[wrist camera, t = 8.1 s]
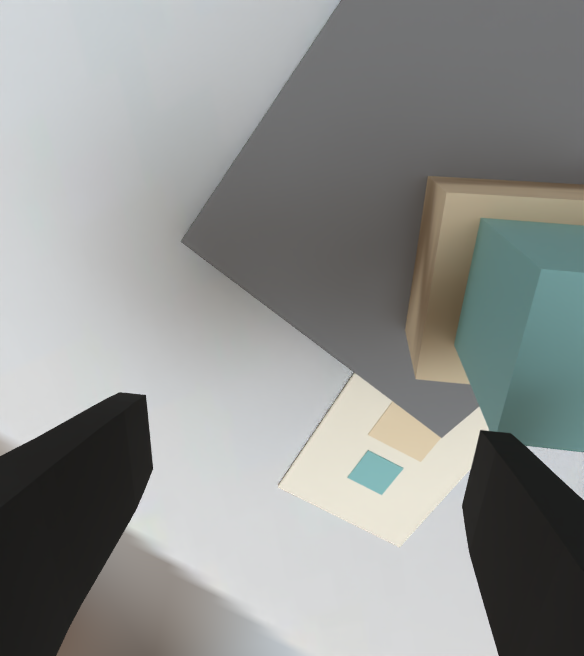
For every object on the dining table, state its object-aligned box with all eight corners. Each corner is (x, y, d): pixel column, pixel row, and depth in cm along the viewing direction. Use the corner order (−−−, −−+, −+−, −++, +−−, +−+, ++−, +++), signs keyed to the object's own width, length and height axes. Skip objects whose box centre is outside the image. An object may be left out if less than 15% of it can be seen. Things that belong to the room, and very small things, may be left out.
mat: (604, -391, 12) (611, -407, 11) (939, 8, 14) (955, 5, 14) (183, 239, 20) (180, 241, 19) (440, 432, 22) (441, 438, 21)
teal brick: (480, 217, 14) (541, 269, 9) (630, 228, 13) (771, 288, 9) (453, 345, 15) (493, 441, 11) (586, 357, 15) (685, 464, 10)
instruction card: (385, 326, 20) (385, 328, 20) (527, 402, 21) (529, 405, 20) (278, 484, 24) (277, 488, 24) (399, 544, 25) (399, 548, 25)
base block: (427, 175, 17) (446, 192, 14) (606, 185, 17) (676, 205, 13) (405, 330, 20) (415, 379, 16) (559, 343, 19) (607, 397, 15)
